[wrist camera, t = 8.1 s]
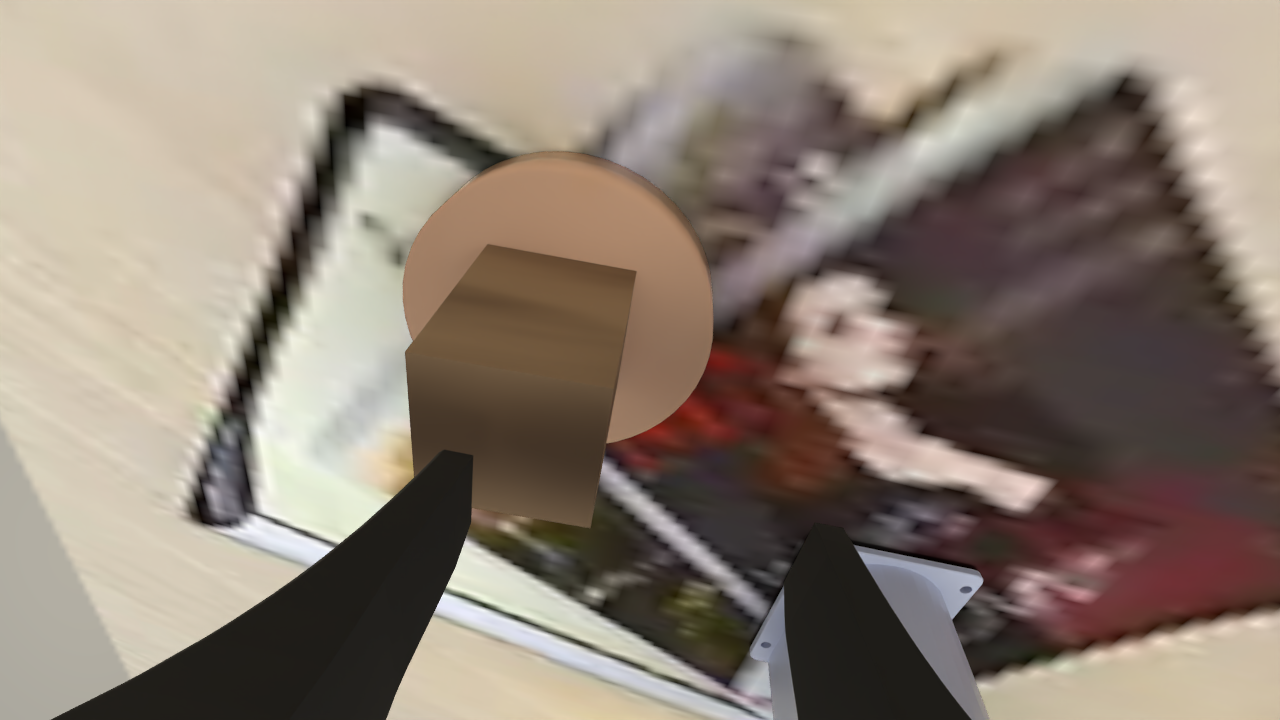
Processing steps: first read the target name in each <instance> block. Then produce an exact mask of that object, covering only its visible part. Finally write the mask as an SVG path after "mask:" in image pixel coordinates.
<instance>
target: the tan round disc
mask: <svg viewBox="0 0 1280 720" xmlns="http://www.w3.org/2000/svg"><path fill="white" fill-rule="evenodd" d="M487 244H490V245H495V246H501V247H506V248H512V249H517V250H523V251H528V252H534V253H540V254H545V255H551V256H556V257H562V258H567V259H573V260H578V261H584V262H589V263H595V264H601V265H606V266H612V267H617V268H623V269H628V270H634V271H637V272H636V278H635V284H634V290H633V296H632V301H631V307H630V313H629V319H628V325H627V331H626V337H625V342H624V348H623V354H622V360H621V366H620V372H619V377H618V383H617V389H616V395H615V400H614V405H613V410H612V416H611V421H610V426H609V432H608V437H607V442H606V443H612V442H617V441H620V440H623V439H627V438H630V437H633V436H635V435H638V434H640V433H642V432H645V431H647V430H649V429H650V428H652V427H654V426H656V425H657V424H659V423H661V422H662V421H663V420H665V419H666V418H667V417H669V416H670V415H671V414H673V413H674V412H675V411H676V410H677V409H678V408H679V407H680V406H681V405H682V404H683V403H684V402H685V401H686V400H687V398H688V397H689V396H690V394H691V393H692V392H693V390H694V389H695V388H696V386H697V384H698V382H699V380H700V378H701V377H702V375H703V373H704V370H705V367H706V365H707V362H708V359H709V356H710V351H711V345H712V340H713V295H712V282H711V273H710V269H709V265H708V261H707V258H706V254H705V252H704V249H703V247H702V245H701V242H700V240H699V237H698V236H697V234H696V232H695V231H694V229H693V227H692V226H691V224H690V222H689V221H688V219H687V218H686V217H685V216H684V214H683V213H682V212H681V210H680V209H679V208H678V207H677V205H676V204H675V203H674V202H673V201H672V200H671V199H669V198H668V197H667V196H666V195H665V194H664V193H663V192H662V191H661V190H660V189H659V188H657V187H656V186H655V185H653V184H652V183H651V182H649V181H648V180H646V179H645V178H644V177H642V176H640V175H638V174H637V173H635V172H633V171H631V170H629V169H628V168H626V167H623V166H621V165H618V164H616V163H613V162H611V161H609V160H606V159H602V158H599V157H595V156H591V155H587V154H581V153H573V152H565V151H553V152H537V153H531V154H524V155H520V156H517V157H513V158H510V159H507V160H504V161H501V162H499V163H497V164H495V165H493V166H491V167H489V168H487V169H485V170H484V171H482V172H481V173H479V174H478V175H476V176H475V177H473V178H472V179H471V180H469V181H468V182H467V183H466V184H465V185H464V186H463V187H462V188H461V189H459V190H458V191H457V192H456V193H455V194H454V195H453V196H452V197H451V198H450V199H448V200H447V201H446V202H445V203H444V204H443V205H442V206H441V207H440V208H439V209H438V210H437V211H436V212H435V213H434V214H433V215H431V217H430V218H429V219H428V221H427V222H426V223H425V225H424V226H423V227H422V229H421V230H420V232H419V233H418V235H417V237H416V239H415V241H414V243H413V245H412V247H411V250H410V253H409V256H408V259H407V262H406V266H405V272H404V279H403V304H404V311H405V318H406V321H407V325H408V328H409V332H410V335H411V338H412V340H413V341H414V340H415V338H416V337H417V336H418V334H419V333H420V332H421V330H422V329H423V328H424V327H425V325H426V324H427V323H428V321H429V320H430V319H431V317H432V316H433V315H434V313H435V312H436V311H437V310H438V308H439V307H440V306H441V304H442V303H443V302H444V300H445V299H446V298H447V296H448V295H449V294H450V293H451V291H452V290H453V289H454V287H455V286H456V285H457V283H458V282H459V281H460V279H461V278H462V277H463V276H464V274H465V273H466V272H467V270H468V269H469V268H470V266H471V265H472V264H473V262H474V261H475V260H476V259H477V257H478V256H479V255H480V253H481V252H482V251H483V249H484V248H485V247H486V245H487Z"/></svg>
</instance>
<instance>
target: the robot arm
mask: <svg viewBox="0 0 1280 720" xmlns="http://www.w3.org/2000/svg"><path fill="white" fill-rule="evenodd" d="M472 480H473V455H470V454H465V453H460V452H455V451H450V450H445V449H444V450H442V451H440V452H439V453H438V454H437V455H436V456H435V457H434V458H433V459H432V460H431V461H430V462H429V463H428V464H427V465H426V466H425V467H424V468H423V469H422V470H421V471H420V472H419V473H418V474H417V475H416V476H415V477H414V478H413V479H412V480H411V481H410V482H409V483H408V484H407V485H406V486H405V487H404V488H403V489H402V490H401V491H400V492H399V493H398V494H396V495H395V496H394V497H393V498H392V499H391V500H390V501H389V502H388V503H387V504H386V505H384V506H383V507H382V508H381V509H380V510H379V511H378V512H377V513H376V514H374V515H373V516H372V517H371V518H370V519H369V520H368V521H367V522H365V523H364V524H363V525H362V526H361V527H360V528H358V529H357V530H356V531H355V532H354V533H352V534H351V535H350V536H349V537H347V538H346V539H345V540H344V541H343V542H341V543H340V544H339V545H338V546H336V547H335V548H334V549H333V550H332V551H330V552H329V553H328V554H327V555H325V556H324V557H323V558H322V559H320V560H319V561H318V562H316V563H315V564H314V565H312V566H311V567H310V568H308V569H307V570H306V571H304V572H303V573H302V574H300V575H299V576H298V577H296V578H295V579H293V580H292V581H291V582H289V583H288V584H286V585H285V586H284V587H282V588H281V589H279V590H278V591H276V592H275V593H274V594H272V595H271V596H269V597H268V598H266V599H265V600H263V601H262V602H260V603H259V604H257V605H256V606H254V607H252V608H251V609H249V610H248V611H246V612H245V613H243V614H242V615H240V616H239V617H237V618H236V619H234V620H233V621H231V622H229V623H228V624H226V625H225V626H223V627H221V628H220V629H218V630H217V631H215V632H213V633H212V634H210V635H208V636H207V637H205V638H203V639H201V640H200V641H198V642H196V643H194V644H193V645H191V646H189V647H187V648H186V649H184V650H182V651H180V652H179V653H177V654H175V655H173V656H172V657H170V658H168V659H166V660H165V661H163V662H161V663H159V664H158V665H156V666H154V667H152V668H151V669H149V670H147V671H145V672H143V673H142V674H140V675H138V676H136V677H134V678H132V679H130V680H129V681H127V682H125V683H123V684H121V685H119V686H117V687H115V688H113V689H111V690H109V691H107V692H105V693H103V694H101V695H99V696H97V697H95V698H93V699H91V700H90V701H87V702H85V703H83V704H81V705H79V706H77V707H75V708H73V709H71V710H69V711H67V712H65V713H63V714H61V715H59V716H57V717H55V718H53V719H51V720H386V718H387V715H388V713H389V710H390V708H391V705H392V702H393V700H394V697H395V694H396V692H397V690H398V687H399V685H400V683H401V681H402V678H403V676H404V674H405V671H406V669H407V667H408V665H409V663H410V661H411V659H412V657H413V655H414V653H415V651H416V649H417V646H418V644H419V642H420V640H421V638H422V636H423V634H424V632H425V630H426V628H427V626H428V624H429V622H430V619H431V617H432V615H433V613H434V611H435V609H436V607H437V605H438V603H439V601H440V599H441V597H442V594H443V592H444V590H445V588H446V586H447V584H448V582H449V580H450V578H451V575H452V573H453V571H454V569H455V567H456V564H457V561H458V558H459V555H460V553H461V550H462V547H463V544H464V541H465V538H466V535H467V532H468V529H469V527H470V524H471V510H472ZM982 583H983V578H982V576H981V574H980V573H979V572H978V571H976V570H974V569H969V568H964V567H959V566H954V565H949V564H944V563H939V562H934V561H930V560H925V559H920V558H915V557H910V556H905V555H900V554H895V553H890V552H886V551H881V550H876V549H871V548H866V547H861V546H856V545H853V543H852V542H851V540H850V538H849V537H848V535H847V533H846V532H845V530H844V529H843V528H840V527H835V526H830V525H825V524H820V523H814V525H813V527H812V529H811V531H810V533H809V535H808V537H807V539H806V540H805V542H804V544H803V546H802V548H801V550H800V552H799V554H798V556H797V558H796V560H795V562H794V564H793V566H792V568H791V570H790V572H789V574H788V575H787V577H786V579H785V581H784V586H783V588H782V590H781V592H780V593H779V595H778V597H777V599H776V601H775V603H774V604H773V606H772V608H771V610H770V612H769V614H768V615H767V617H766V619H765V621H764V623H763V625H762V626H761V628H760V630H759V632H758V634H757V636H756V637H755V639H754V641H753V643H752V645H751V647H750V656H751V657H752V658H753V659H755V660H759V661H764V662H768V666H769V676H770V687H771V697H772V708H773V718H774V720H990V718H989V715H988V713H987V710H986V708H985V705H984V702H983V700H982V697H981V695H980V692H979V689H978V687H977V684H976V682H975V679H974V676H973V674H972V671H971V668H970V666H969V663H968V661H967V658H966V655H965V653H964V650H963V648H962V645H961V642H960V640H959V637H958V635H957V632H956V629H955V627H954V624H953V622H952V619H953V618H954V617H955V615H956V614H957V613H958V612H959V611H960V610H961V608H962V607H963V606H964V605H965V604H966V603H967V601H968V600H969V599H970V598H971V597H972V596H973V594H974V593H975V592H976V591H977V590H978V588H979V587H980V586H981V585H982Z"/></svg>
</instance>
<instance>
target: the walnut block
mask: <svg viewBox="0 0 1280 720" xmlns="http://www.w3.org/2000/svg"><path fill="white" fill-rule="evenodd" d="M636 272H637V271H634V270H628V269H623V268H617V267H612V266H606V265H601V264H595V263H589V262H584V261H578V260H573V259H567V258H562V257H556V256H551V255H545V254H540V253H534V252H528V251H523V250H517V249H512V248H506V247H501V246H495V245H490V244H487V245H486V247H485V248H484V249H483V251H482V252H481V253H480V255H479V256H478V257H477V259H476V260H475V261H474V262H473V264H472V265H471V266H470V268H469V269H468V270H467V272H466V273H465V274H464V276H463V277H462V278H461V279H460V281H459V282H458V283H457V285H456V286H455V287H454V289H453V290H452V291H451V293H450V294H449V295H448V296H447V298H446V299H445V300H444V302H443V303H442V304H441V306H440V307H439V308H438V310H437V311H436V312H435V313H434V315H433V316H432V317H431V319H430V320H429V321H428V323H427V324H426V325H425V327H424V328H423V329H422V330H421V332H420V333H419V334H418V336H417V337H416V338H415V340H414V341H413V342H412V344H411V345H410V346H409V347H408V349H407V350H406V351H405V358H406V372H407V385H408V399H409V413H410V427H411V440H412V454H413V468H414V477H415V476H416V475H417V474H418V473H419V472H420V471H421V470H422V469H423V468H424V467H425V466H426V465H427V464H428V463H429V462H430V461H431V460H432V459H433V458H434V457H435V456H436V455H437V454H438V453H439V452H440V451H442V450H444V449H445V450H450V451H455V452H460V453H465V454H470V455H473V480H472V508H475V509H481V510H487V511H493V512H498V513H504V514H510V515H516V516H522V517H528V518H534V519H540V520H545V521H551V522H557V523H563V524H569V525H575V526H581V527H587V528H590V527H591V522H592V516H593V511H594V506H595V500H596V495H597V490H598V485H599V479H600V474H601V469H602V463H603V458H604V453H605V448H606V442H607V437H608V432H609V426H610V421H611V416H612V410H613V405H614V400H615V395H616V389H617V383H618V377H619V372H620V366H621V360H622V354H623V348H624V342H625V337H626V331H627V325H628V319H629V313H630V307H631V301H632V296H633V290H634V284H635V278H636Z"/></svg>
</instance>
